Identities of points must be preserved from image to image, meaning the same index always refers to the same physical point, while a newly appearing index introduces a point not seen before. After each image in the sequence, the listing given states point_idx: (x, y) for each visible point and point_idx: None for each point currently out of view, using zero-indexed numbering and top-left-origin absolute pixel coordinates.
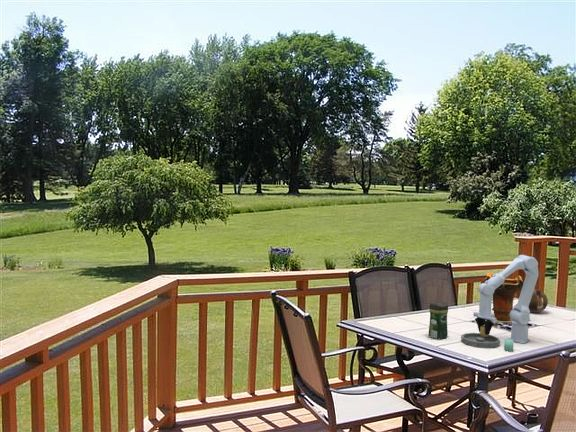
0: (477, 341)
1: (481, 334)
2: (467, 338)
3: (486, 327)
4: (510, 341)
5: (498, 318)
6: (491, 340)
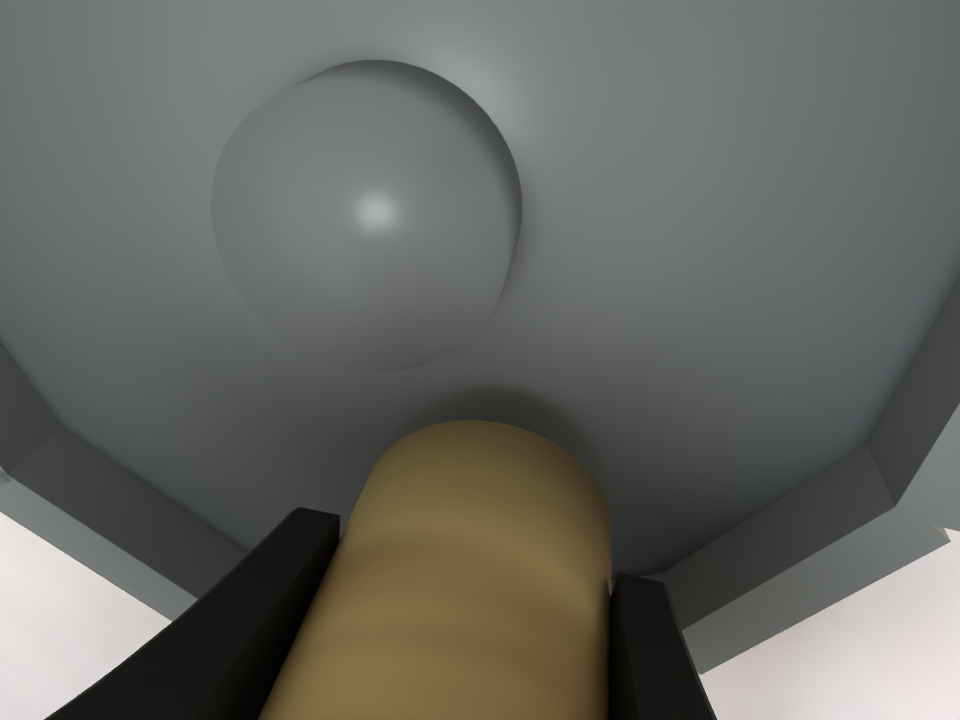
0: (355, 35)
1: (471, 464)
2: (846, 8)
3: (49, 716)
4: None
5: None
6: (302, 494)
